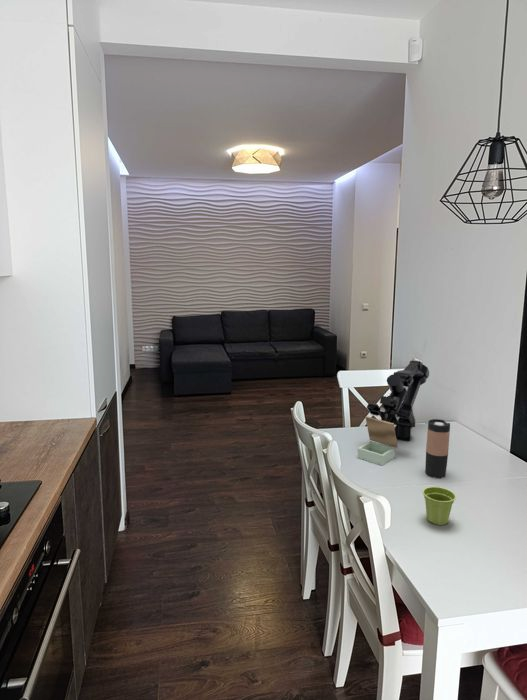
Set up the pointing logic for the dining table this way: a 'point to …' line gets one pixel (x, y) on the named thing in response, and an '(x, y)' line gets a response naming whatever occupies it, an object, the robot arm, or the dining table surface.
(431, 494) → the plant pot
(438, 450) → the travel mug
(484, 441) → the dining table surface
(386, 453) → the pale green open box
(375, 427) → the lid
